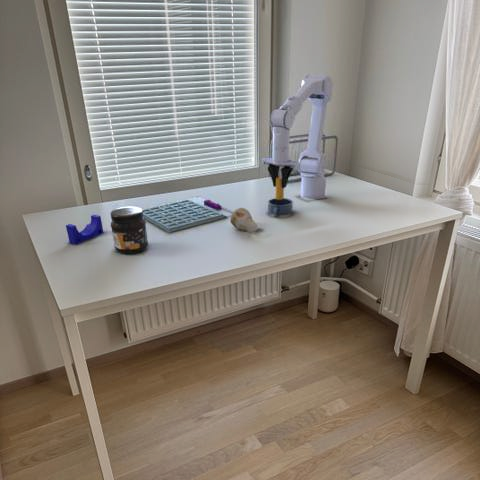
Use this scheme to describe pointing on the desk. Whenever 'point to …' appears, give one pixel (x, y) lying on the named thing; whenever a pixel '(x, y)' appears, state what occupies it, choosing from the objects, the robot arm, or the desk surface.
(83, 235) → the cable clip
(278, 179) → the peg
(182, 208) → the calendar
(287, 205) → the cup
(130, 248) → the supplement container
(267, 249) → the desk surface
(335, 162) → the newton's cradle
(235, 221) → the rock
